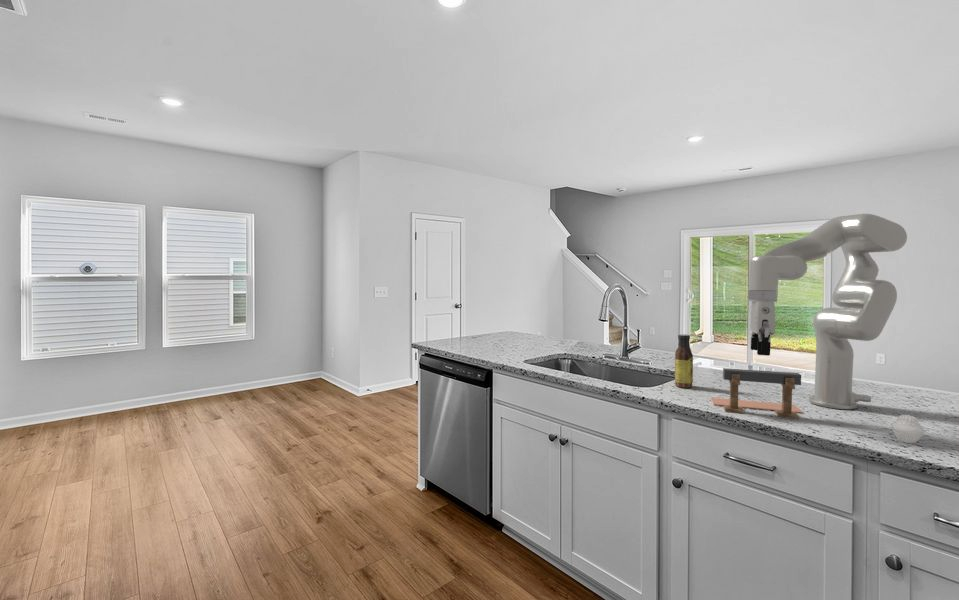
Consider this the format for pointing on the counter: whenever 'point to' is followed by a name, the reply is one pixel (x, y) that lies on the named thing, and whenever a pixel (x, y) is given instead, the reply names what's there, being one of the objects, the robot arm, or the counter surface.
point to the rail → (761, 376)
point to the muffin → (907, 429)
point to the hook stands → (781, 413)
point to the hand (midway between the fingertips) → (759, 352)
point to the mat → (754, 404)
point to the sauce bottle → (683, 363)
